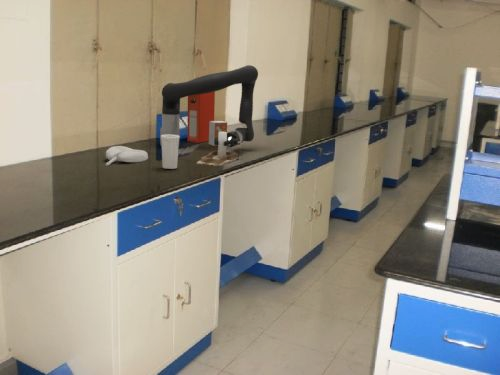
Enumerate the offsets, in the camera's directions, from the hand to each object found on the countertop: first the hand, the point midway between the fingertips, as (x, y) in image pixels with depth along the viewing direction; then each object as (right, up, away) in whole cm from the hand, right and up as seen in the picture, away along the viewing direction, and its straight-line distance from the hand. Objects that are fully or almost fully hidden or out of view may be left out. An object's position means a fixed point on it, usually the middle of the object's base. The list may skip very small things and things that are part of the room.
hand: (220, 143), depth 261 cm
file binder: (-14, +6, +57) cm, 59 cm away
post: (+1, -6, +4) cm, 8 cm away
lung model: (-44, -10, -10) cm, 46 cm away
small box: (-4, +2, +45) cm, 45 cm away
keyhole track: (-1, -9, 0) cm, 8 cm away
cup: (-21, -13, -20) cm, 32 cm away
